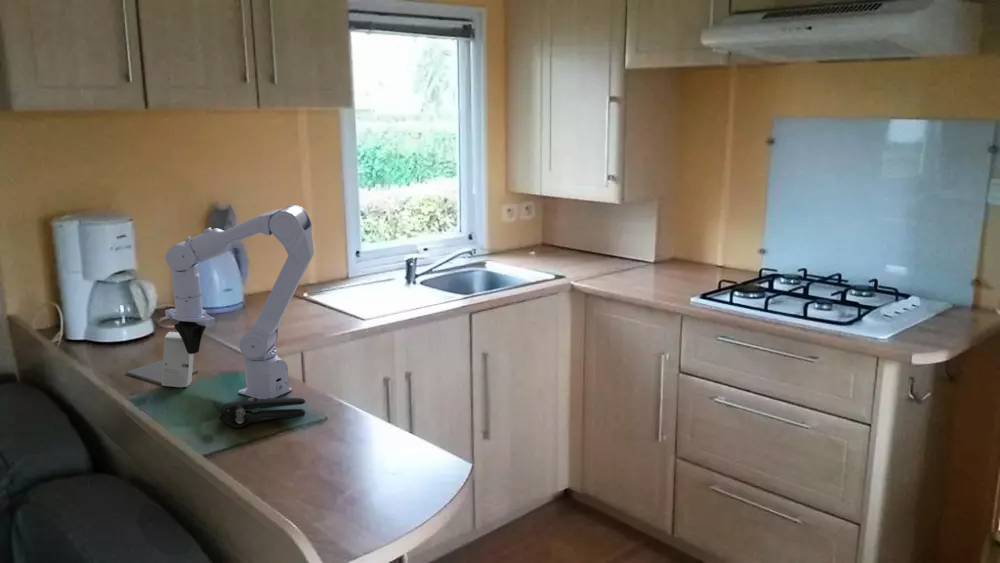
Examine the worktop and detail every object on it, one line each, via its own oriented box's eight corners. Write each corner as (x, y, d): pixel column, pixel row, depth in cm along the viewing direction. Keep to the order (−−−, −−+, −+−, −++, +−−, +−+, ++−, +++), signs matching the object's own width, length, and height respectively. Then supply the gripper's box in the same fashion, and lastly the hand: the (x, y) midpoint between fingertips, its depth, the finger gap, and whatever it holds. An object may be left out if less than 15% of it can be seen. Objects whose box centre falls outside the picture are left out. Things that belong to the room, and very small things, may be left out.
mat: (198, 372, 197) (198, 370, 197) (162, 385, 189) (162, 382, 189) (162, 362, 204) (162, 360, 204) (126, 374, 196) (126, 371, 196)
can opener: (221, 434, 163) (219, 408, 162) (218, 421, 170) (216, 396, 168) (309, 420, 170) (307, 395, 169) (303, 408, 176) (302, 384, 175)
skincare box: (160, 386, 186) (162, 336, 183) (166, 379, 191) (167, 330, 188) (188, 388, 187) (190, 339, 184) (193, 381, 191) (195, 333, 189)
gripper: (224, 295, 179) (229, 352, 183) (181, 287, 187) (186, 342, 190) (198, 302, 174) (203, 362, 177) (155, 293, 181) (161, 350, 184)
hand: (193, 352), depth 183 cm, fingers closed
